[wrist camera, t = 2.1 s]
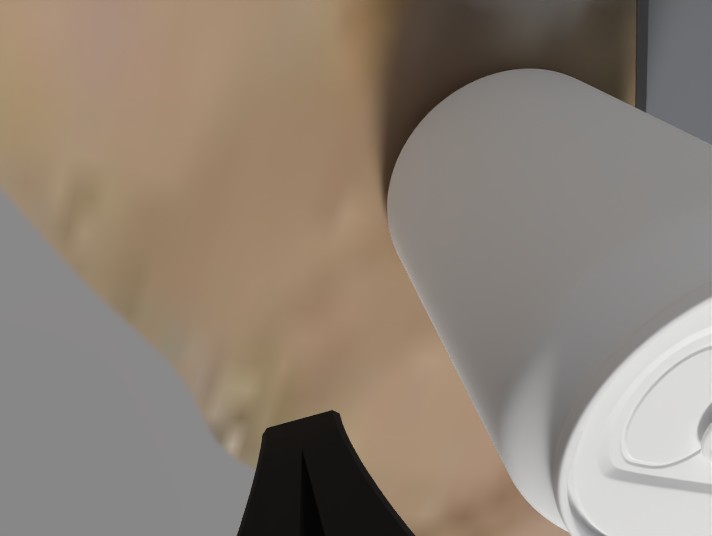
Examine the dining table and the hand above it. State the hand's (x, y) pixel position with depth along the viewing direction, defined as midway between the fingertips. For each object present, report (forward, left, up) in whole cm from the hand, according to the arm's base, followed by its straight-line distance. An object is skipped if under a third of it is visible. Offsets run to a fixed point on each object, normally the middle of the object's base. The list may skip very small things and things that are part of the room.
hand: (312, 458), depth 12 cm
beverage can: (-1, -8, -11) cm, 13 cm away
